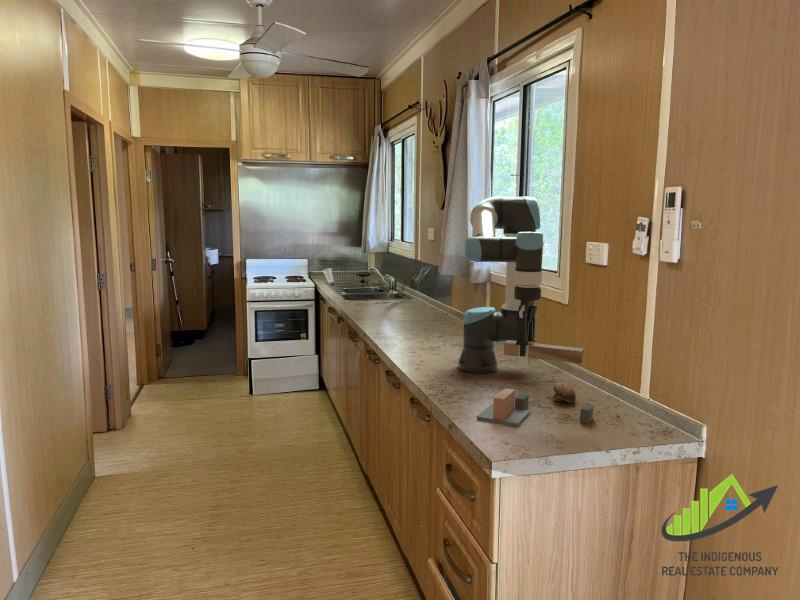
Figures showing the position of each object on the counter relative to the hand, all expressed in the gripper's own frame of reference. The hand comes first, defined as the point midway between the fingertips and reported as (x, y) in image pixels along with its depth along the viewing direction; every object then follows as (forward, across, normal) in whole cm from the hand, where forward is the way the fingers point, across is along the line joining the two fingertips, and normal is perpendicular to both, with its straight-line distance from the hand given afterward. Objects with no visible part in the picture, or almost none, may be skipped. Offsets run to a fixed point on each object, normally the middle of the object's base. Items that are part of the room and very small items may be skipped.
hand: (524, 364), depth 166 cm
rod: (-3, 0, +5) cm, 6 cm away
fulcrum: (+14, +6, -4) cm, 16 cm away
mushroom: (+15, -16, +9) cm, 24 cm away
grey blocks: (+15, -2, +8) cm, 17 cm away
